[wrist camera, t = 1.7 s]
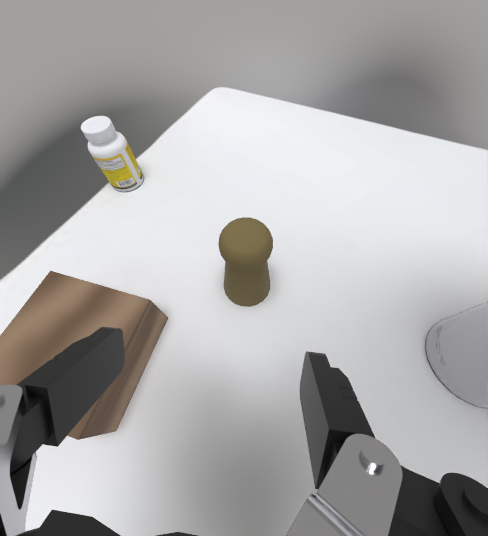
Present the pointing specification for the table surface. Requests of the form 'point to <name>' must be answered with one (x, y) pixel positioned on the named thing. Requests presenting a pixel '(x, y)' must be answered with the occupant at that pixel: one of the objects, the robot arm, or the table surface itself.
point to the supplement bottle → (112, 154)
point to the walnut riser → (76, 328)
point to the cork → (246, 260)
